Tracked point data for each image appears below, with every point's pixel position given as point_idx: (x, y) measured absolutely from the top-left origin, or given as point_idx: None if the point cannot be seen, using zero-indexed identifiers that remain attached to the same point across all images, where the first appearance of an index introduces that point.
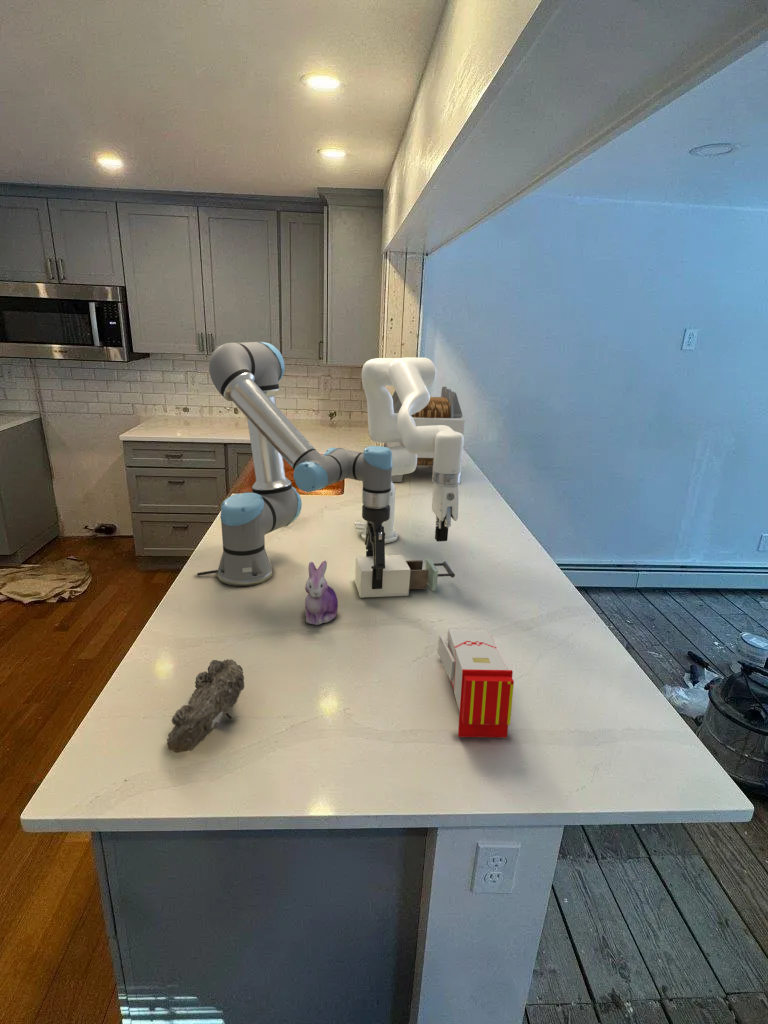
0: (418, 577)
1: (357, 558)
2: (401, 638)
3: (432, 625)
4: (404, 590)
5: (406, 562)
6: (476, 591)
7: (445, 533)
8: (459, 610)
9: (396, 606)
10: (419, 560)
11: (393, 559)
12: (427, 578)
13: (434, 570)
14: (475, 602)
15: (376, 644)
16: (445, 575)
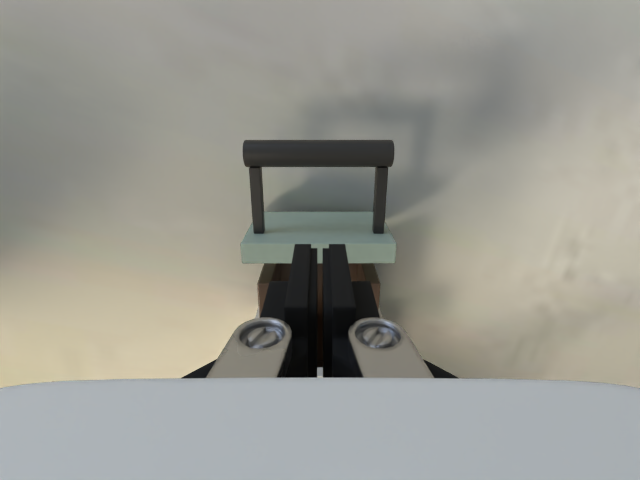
0: None
1: None
2: (617, 374)
3: (590, 279)
4: None
5: (320, 376)
6: (397, 15)
7: (375, 310)
8: (532, 157)
9: (442, 353)
10: (262, 296)
11: None
12: (374, 267)
13: (391, 259)
14: (493, 62)
15: None
16: (386, 190)
